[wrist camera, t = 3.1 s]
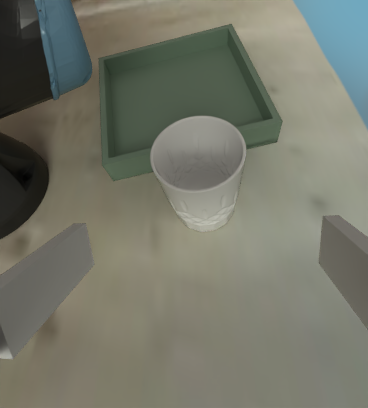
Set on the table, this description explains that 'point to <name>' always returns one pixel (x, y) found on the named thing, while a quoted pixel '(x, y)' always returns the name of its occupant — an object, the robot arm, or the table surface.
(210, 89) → the green box
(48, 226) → the table surface
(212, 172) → the white cup
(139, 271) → the table surface
